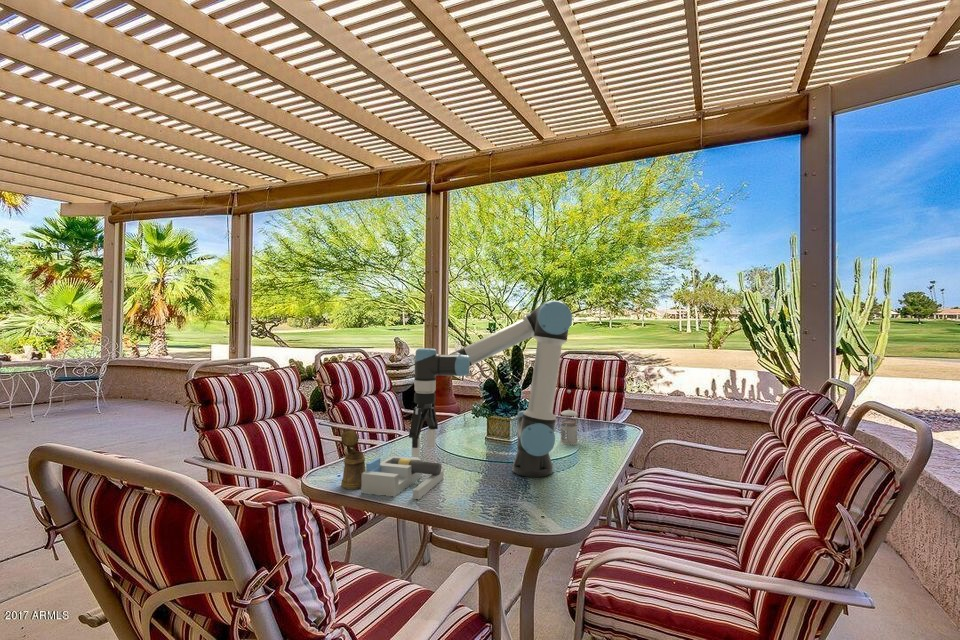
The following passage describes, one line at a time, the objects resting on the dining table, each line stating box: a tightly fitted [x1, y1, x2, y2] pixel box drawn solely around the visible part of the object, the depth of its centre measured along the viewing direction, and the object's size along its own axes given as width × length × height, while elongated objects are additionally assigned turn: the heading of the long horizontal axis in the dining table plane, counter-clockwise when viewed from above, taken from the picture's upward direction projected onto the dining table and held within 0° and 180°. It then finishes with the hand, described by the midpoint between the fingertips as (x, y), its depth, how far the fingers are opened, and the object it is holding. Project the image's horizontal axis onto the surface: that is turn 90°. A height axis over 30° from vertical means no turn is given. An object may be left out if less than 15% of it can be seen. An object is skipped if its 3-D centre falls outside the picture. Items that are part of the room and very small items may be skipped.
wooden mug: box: [340, 428, 366, 490], centre depth 167 cm, size 9×14×18 cm, turn 30°
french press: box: [558, 389, 580, 446], centre depth 227 cm, size 10×12×25 cm
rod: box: [390, 458, 442, 475], centre depth 169 cm, size 18×4×4 cm, turn 74°
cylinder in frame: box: [360, 455, 444, 501], centre depth 164 cm, size 20×22×9 cm
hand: (423, 451), depth 168 cm, fingers open, 13 cm apart
